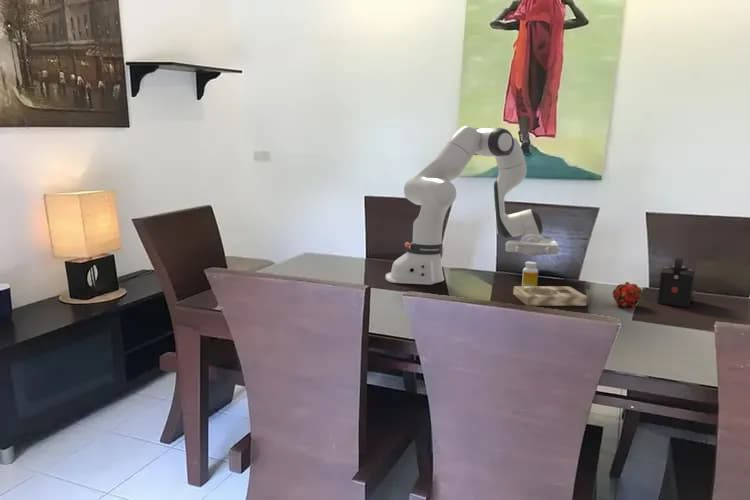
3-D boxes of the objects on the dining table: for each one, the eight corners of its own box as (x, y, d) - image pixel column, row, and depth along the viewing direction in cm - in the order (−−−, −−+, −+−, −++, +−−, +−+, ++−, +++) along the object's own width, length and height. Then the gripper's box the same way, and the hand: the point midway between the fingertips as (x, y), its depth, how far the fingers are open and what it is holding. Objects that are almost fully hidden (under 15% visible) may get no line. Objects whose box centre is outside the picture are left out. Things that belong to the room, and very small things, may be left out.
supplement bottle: (538, 290, 205) (540, 264, 203) (523, 290, 205) (525, 263, 203) (534, 287, 210) (536, 261, 208) (520, 286, 210) (521, 260, 208)
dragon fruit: (635, 307, 191) (621, 319, 182) (615, 289, 194) (600, 300, 186) (652, 291, 185) (638, 303, 177) (631, 273, 189) (617, 283, 180)
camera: (694, 300, 197) (699, 257, 194) (692, 309, 185) (698, 264, 182) (659, 295, 202) (664, 254, 200) (656, 303, 190) (661, 260, 188)
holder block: (527, 305, 184) (528, 296, 183) (513, 294, 198) (513, 285, 197) (586, 305, 186) (587, 296, 185) (568, 294, 199) (569, 286, 199)
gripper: (506, 235, 232) (504, 241, 219) (558, 238, 227) (560, 244, 214) (505, 251, 233) (503, 257, 220) (557, 254, 228) (558, 260, 215)
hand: (532, 250), depth 217 cm, fingers open, 8 cm apart
